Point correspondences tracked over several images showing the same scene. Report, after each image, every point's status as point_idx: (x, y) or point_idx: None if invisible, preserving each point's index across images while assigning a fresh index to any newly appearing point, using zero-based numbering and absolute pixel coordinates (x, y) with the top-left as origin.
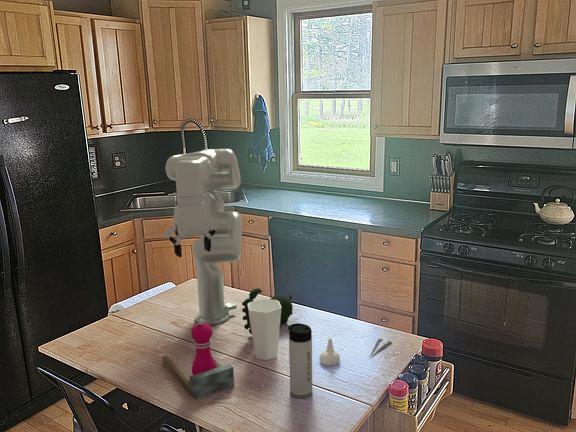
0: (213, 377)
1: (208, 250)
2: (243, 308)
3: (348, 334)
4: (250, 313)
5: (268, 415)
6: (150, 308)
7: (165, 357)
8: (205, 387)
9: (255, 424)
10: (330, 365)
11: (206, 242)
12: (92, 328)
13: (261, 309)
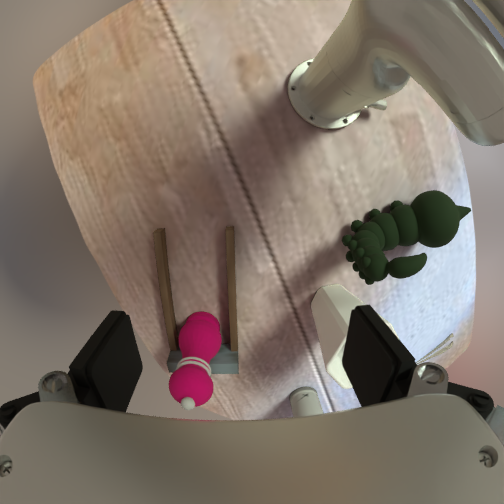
0: None
1: (345, 367)
2: (360, 255)
3: (446, 305)
4: (325, 363)
5: (245, 409)
6: None
7: (156, 240)
8: None
9: (225, 413)
10: None
11: (367, 390)
12: (101, 27)
13: None
